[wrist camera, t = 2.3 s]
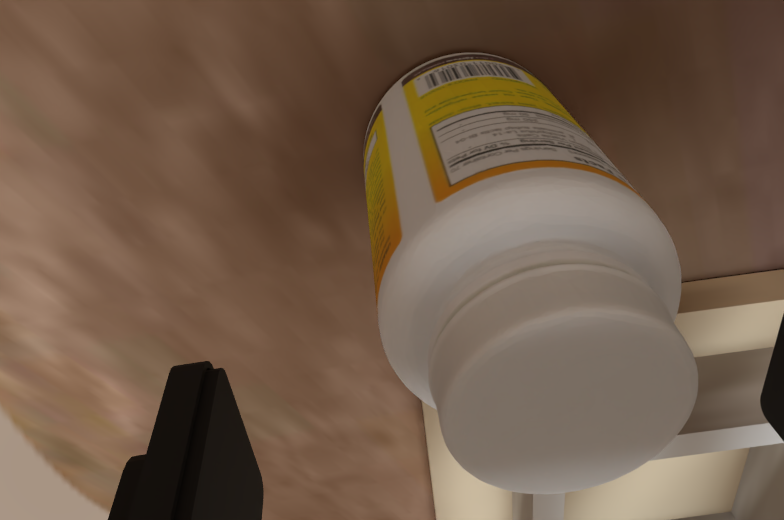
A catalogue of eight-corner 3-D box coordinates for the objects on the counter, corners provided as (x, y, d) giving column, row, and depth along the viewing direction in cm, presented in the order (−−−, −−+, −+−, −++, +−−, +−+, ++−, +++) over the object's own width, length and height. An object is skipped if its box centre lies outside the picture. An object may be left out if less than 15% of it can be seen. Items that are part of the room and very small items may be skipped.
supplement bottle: (446, 261, 20) (524, 566, 12) (320, 141, 18) (305, 420, 9) (595, 148, 19) (814, 413, 10) (479, -3, 16) (640, 178, 8)
